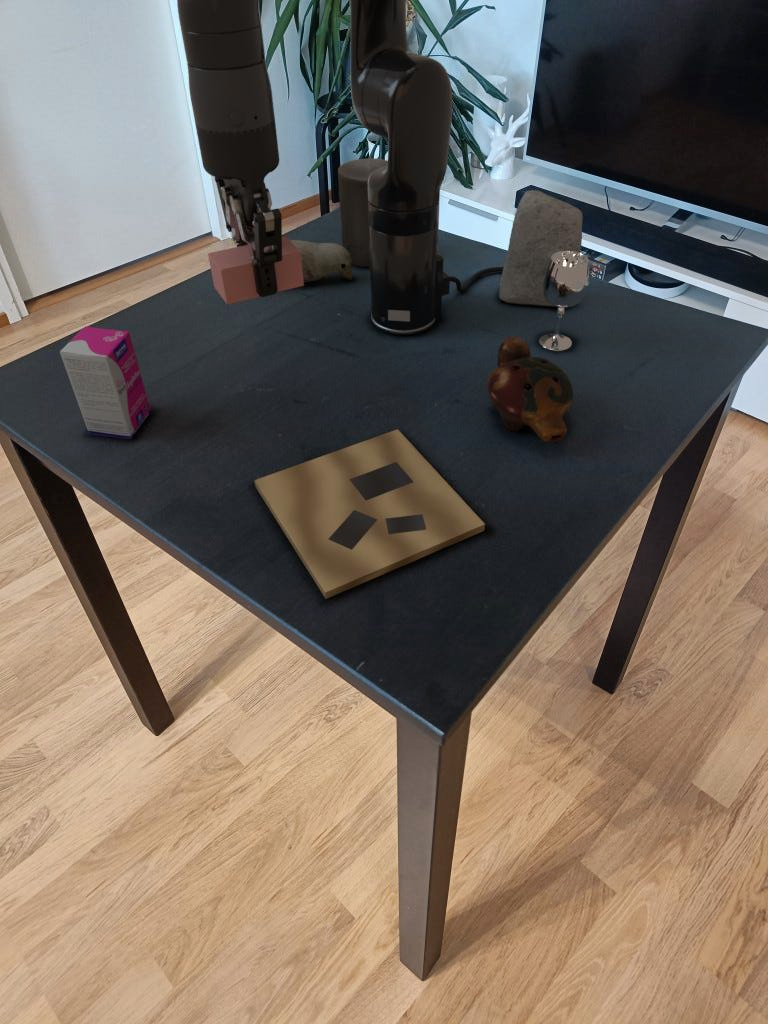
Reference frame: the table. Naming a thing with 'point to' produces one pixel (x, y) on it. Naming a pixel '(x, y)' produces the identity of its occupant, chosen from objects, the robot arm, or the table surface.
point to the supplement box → (106, 381)
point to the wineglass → (564, 291)
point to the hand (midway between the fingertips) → (259, 283)
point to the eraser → (238, 276)
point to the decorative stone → (537, 245)
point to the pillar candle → (356, 207)
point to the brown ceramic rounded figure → (530, 391)
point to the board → (366, 511)
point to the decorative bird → (323, 260)
